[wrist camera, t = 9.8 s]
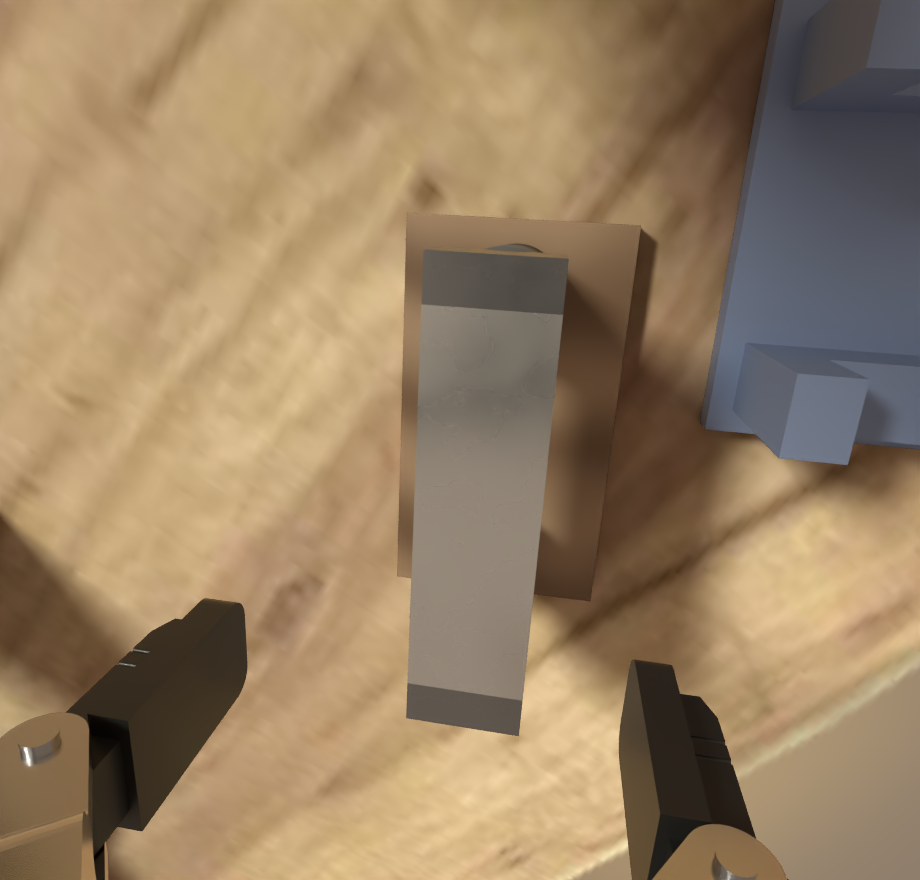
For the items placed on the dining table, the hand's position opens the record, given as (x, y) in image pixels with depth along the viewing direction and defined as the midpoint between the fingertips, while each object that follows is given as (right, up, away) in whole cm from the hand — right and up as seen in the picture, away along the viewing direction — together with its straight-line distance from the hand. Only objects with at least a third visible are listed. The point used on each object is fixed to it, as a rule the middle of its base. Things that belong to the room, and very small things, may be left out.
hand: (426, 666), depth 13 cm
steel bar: (+2, +3, +11) cm, 11 cm away
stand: (+3, +6, +18) cm, 19 cm away
